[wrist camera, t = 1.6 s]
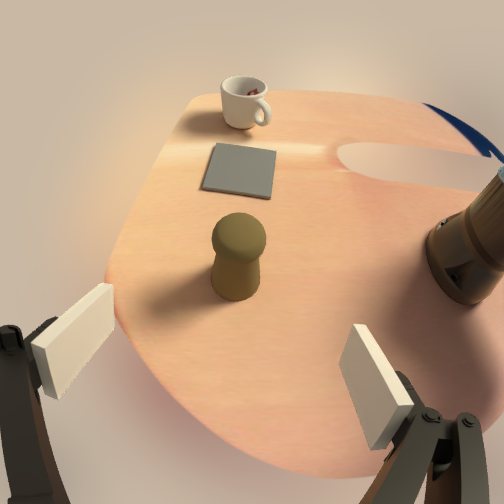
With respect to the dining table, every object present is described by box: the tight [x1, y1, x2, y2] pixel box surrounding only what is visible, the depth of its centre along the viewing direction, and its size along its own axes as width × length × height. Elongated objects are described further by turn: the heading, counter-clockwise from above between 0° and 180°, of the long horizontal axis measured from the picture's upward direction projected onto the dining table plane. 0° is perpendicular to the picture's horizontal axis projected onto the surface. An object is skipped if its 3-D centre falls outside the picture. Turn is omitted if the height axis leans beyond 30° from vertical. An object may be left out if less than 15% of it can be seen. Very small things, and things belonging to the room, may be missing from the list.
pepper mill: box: [211, 213, 266, 301], centre depth 32 cm, size 6×6×11 cm
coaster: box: [203, 143, 276, 199], centre depth 45 cm, size 10×10×1 cm
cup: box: [221, 76, 272, 129], centre depth 48 cm, size 11×8×8 cm
